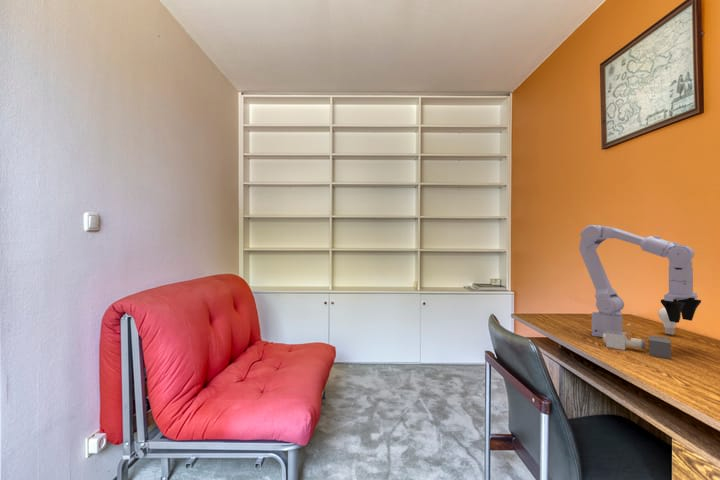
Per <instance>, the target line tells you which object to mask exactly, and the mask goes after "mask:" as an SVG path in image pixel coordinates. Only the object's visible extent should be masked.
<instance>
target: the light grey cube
mask: <svg viewBox="0 0 720 480" xmlns="http://www.w3.org/2000/svg"><path fill="white" fill-rule="evenodd" d="M625 337H627V331H625V332H624V331H622V332H619V331H612V330H607V332H606V342H605V346H606V348H609V349H610V348H611V349H614V350H615V349H616V350H622V351H626V347H627V346H625Z"/></svg>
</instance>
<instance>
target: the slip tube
mask: <svg viewBox="0 0 720 480" xmlns="http://www.w3.org/2000/svg"><path fill="white" fill-rule="evenodd" d="M602 342H603V343H606V334H604V333H603V337H602ZM625 346H626V347H630V348H638V349H643V350H646V339H645V338H644V339H643V338H636V337H632V323H626V337H625Z"/></svg>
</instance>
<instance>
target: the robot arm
mask: <svg viewBox="0 0 720 480" xmlns="http://www.w3.org/2000/svg"><path fill="white" fill-rule="evenodd" d="M607 239H616V240H621V241H624V242H626V243H630V244H633V245H637V246H639V247H640V248H641V251H643V252H647V253H650V254H652V255H656V256H659V257H662V258H667V260H668V265H669V266H668V292H667V293H665V294H664V297H663V298H662V299H660V303H661V304H662V306H663V307H665V309H666V312H667V314H668V318H669V320H670V321H671V322H676V324H679V323H680V320H681V319H682V320H685V321H691V322H692V321H693V318H694V316H695V313H696V310H697V308H698V306H700V304H701V303H702V300H701V299H698V298H699V295H698V293H697V292H694V268H693V264H694V263H693V260H692V259H693V258H694V257H695V251H694V250H693V248H691V247H690V246H688V245H686V244H679V245H678V243H679V242H677V241H669V240H666V239H664V238H663V239H662V238H661V236H658V235H654V236H652V235H649V236H645V237H643V236H641V235H637V234H635V233H631V232H629V231H626V230H623V229H620V228H617V227H612V226H607V225H606V226H605V225H602V224H601V225H598V224H597V225H595V224H589V225H586V226H585V227H584V228H583V230H582V231H581V232H580V241H579V245H578V248H579V253H580V255H581V257H582V259H583V263H584V265H585V267H586V269H587V272H588V274H589V277H590V279H591V282H592V284H593V286H594V289H595V294H594V297H595V300H596V301H595V306H596V309H597V311H593V312H592V313H591V336H593V337H601V338H603V333H604V334H606V332H607V330H612V331H619V332H623V312H622V311H621V310H623V309H624V307H625V302H624V300H623V298H621V297H620V296H619V295H618V292H617V291H616V290H615V289H614V288H613V287H612V285H611V283H610V280H609V277H608V275H607V273H606V270H605V268H604V265H603V264H602V261H601V258H600V257H599V255H598V252H597V249H598V248H599V246H600V245H601V243H603V242H605V241H606V240H607ZM680 315H681V318H680Z"/></svg>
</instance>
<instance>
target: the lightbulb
mask: <svg viewBox="0 0 720 480" xmlns="http://www.w3.org/2000/svg"><path fill="white" fill-rule="evenodd" d="M657 316H658V318H659V319H660V320H661V322H662V324H663V326H664V333H665V334H667V335H668V336H673V335H675V328H676V325H677V323H676V322H671V321H670V320H669V318H668V314H667V312H666V309H665V307H664V306H663V307H661V308H660V309H659V310H658V312H657ZM680 319H682V314H681V315H680Z"/></svg>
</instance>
